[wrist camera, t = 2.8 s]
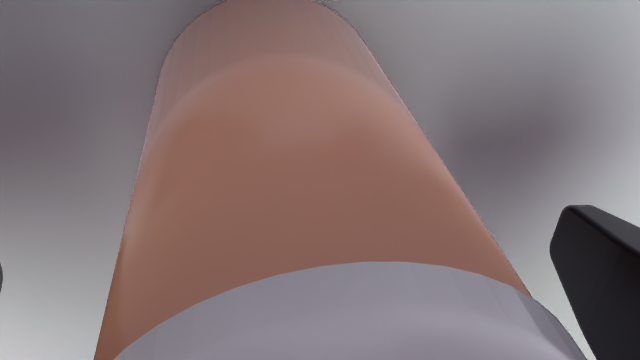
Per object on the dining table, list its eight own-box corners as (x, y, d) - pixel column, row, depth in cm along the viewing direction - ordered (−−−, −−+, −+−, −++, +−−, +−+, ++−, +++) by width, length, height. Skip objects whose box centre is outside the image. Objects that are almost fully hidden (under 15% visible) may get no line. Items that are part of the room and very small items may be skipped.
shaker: (369, 197, 15) (571, 700, 6) (162, 203, 14) (75, 795, 5) (398, -9, 12) (826, 401, 3) (141, -17, 11) (-103, 494, 3)
